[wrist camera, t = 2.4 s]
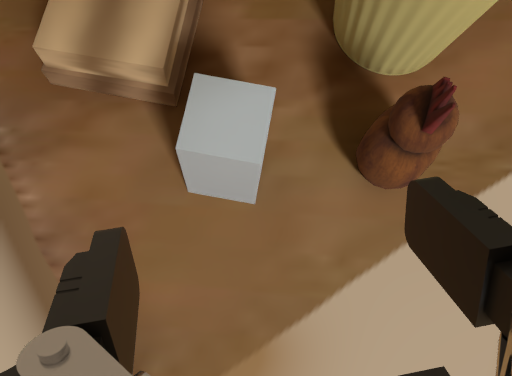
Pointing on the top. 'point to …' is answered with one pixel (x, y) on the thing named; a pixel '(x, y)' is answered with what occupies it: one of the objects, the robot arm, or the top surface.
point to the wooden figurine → (408, 135)
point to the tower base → (134, 88)
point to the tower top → (112, 37)
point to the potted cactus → (401, 30)
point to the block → (224, 137)
